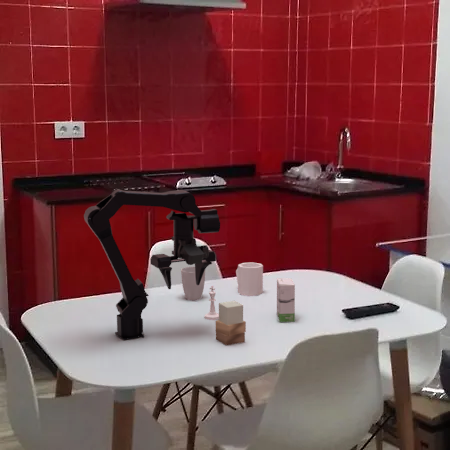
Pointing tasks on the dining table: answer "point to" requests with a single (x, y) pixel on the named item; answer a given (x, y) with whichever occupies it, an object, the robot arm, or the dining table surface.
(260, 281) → the mug
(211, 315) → the chess piece
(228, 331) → the tower top
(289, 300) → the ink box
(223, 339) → the tower base
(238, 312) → the cube
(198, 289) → the cup
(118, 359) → the dining table surface
